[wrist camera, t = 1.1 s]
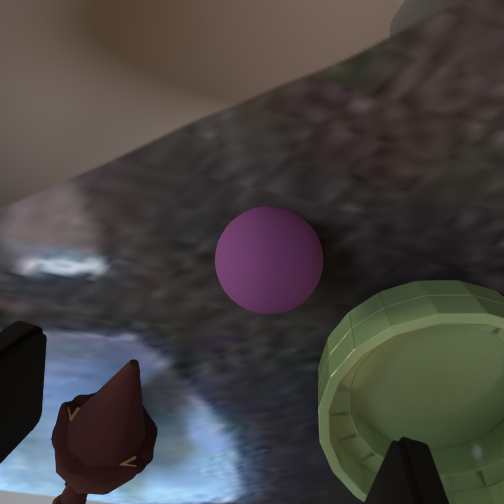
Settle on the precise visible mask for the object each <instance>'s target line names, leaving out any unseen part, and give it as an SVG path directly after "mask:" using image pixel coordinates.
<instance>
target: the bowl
mask: <svg viewBox="0 0 504 504" xmlns="http://www.w3.org/2000/svg"><path fill="white" fill-rule="evenodd" d="M318 417H319V441H320V444H321V446H322V448H323V451H324V453H325V455H326V458H327V460H328V462H329V465H330V467H331V469H332V471H333V472H334V474H335V475H336V476H337V477H338V478H339V479H340V480H341V481H342V482H343V483H344V485H345V486H346V487H347V488H348V489H349V490H350V491H351V492H352V493H353V494H354V496H356V497H357V498H358V499H360V500H361V501H363V502H365V500H366V497H367V495H368V493H369V491H370V488H371V486H372V484H373V482H374V480H375V477H376V475H377V473H378V471H379V468H380V466H381V464H382V462H383V460H384V457H385V455H386V453H387V451H388V448H389V446H390V444H391V442H392V441H393V440H396V441H399V439H400V438H401V437H407V438H410V439H413V440H417V441H420V442H423V443H426V444H427V445H428V446H429V448H430V451H431V454H432V457H433V459H434V462H435V465H436V468H437V470H438V473H439V476H440V479H441V482H442V484H443V487H444V490H445V493H446V495H447V498H448V501H449V504H504V295H503V294H501V293H500V292H498V291H495V290H492V289H489V288H485V287H481V286H478V285H474V284H470V283H466V282H463V281H457V280H429V281H414V282H410V283H407V284H404V285H400V286H397V287H394V288H390V289H387V290H384V291H380V293H377V294H375V295H374V296H372V297H371V298H369V299H368V300H366V301H365V302H363V303H362V304H360V305H358V306H357V307H355V308H354V309H352V310H351V311H350V312H348V313H347V315H346V316H345V317H344V318H343V319H342V321H341V322H340V323H339V324H338V326H337V327H336V328H335V329H334V331H333V332H332V333H331V334H330V335H329V338H328V339H327V342H326V345H325V348H324V351H323V353H322V356H321V359H320V362H319V366H318Z"/></svg>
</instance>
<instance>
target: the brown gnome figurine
mask: <svg viewBox="0 0 504 504" xmlns="http://www.w3.org/2000/svg"><path fill="white" fill-rule="evenodd" d="M156 437H157V427H156V425H155V423H154V422H153V420H152V419H151V417H150V416H149V415H148V413H147V412H146V410H145V408H144V406H143V404H142V394H141V383H140V370H139V363H138V361H137V360H134V359H133V360H131V361H129V362H128V363H127V364H126V365H125V366H124V367H123V368H122V369H121V370H120V371H119V372H118V373H117V374H116V375H115V376H113V377H112V378H111V379H110V380H109V381H108V382H107V383H106V384H105V385H104V386H103V387H102V388H101V389H100V390H99V391H98V392H97V393H93V394H89V395H78V396H76V397H75V398H74V399H73V400H72V401H69V402H64V403H63V404H62V405H61V407H60V410H59V413H58V417H57V421H56V425H55V427H54V429H53V433H52V438H51V440H52V444H53V447H54V449H55V461H56V472H57V473H58V475H59V476H60V477H61V478H62V479H64V480H65V481H66V482H65V486H66V487H65V489H64V491H63V493H62V494H61V495H59V496H58V497H57V498H55V499H54V500H53V502H52V503H53V504H85V503H86V500H87V499H86V498H87V495H88V494H101V495H104V494H108V493H109V492H111V491H113V490H115V489H116V488H118V487H120V486H121V485H123V484H125V483H126V482H128V481H130V480H131V479H133V478H134V477H135V475H136V474H138V473H140V472H142V471H143V470H144V468H145V467H146V465H147V464H149V463H150V462H151V461H152V459H153V450H154V446H155V442H156Z"/></svg>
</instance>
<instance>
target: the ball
mask: <svg viewBox="0 0 504 504" xmlns="http://www.w3.org/2000/svg"><path fill="white" fill-rule="evenodd" d="M215 265H216V271H217V275H218V279H219V281H220V284H221V285H222V287H223V289H224V290H225V292H226V293H227V294H228V296H229V297H230V298H231V299H232V300H233V301H235V302H236V303H237V304H238V305H240V306H242V307H243V308H245V309H247V310H250V311H252V312H256V313H260V314H278V313H283V312H287V311H289V310H292V309H294V308H295V307H297V306H299V305H300V304H301V303H303V302H304V301H305V300H306V299H307V298H308V297H309V296H310V295H311V294H312V293H313V291H314V290H315V288H316V286H317V285H318V283H319V280H320V278H321V274H322V269H323V251H322V247H321V243H320V240H319V238H318V236H317V234H316V232H315V231H314V229H313V228H312V227H311V225H310V224H309V223H308V222H307V221H306V220H305V219H303V218H302V217H301V216H299V215H298V214H296V213H294V212H292V211H290V210H287V209H285V208H280V207H273V206H265V207H258V208H254V209H251V210H248V211H246V212H244V213H242V214H241V215H239V216H238V217H236V218H235V219H234V220H233V221H232V222H231V223H230V224H229V225H228V226H227V227H226V229H225V230H224V232H223V233H222V235H221V237H220V239H219V242H218V245H217V249H216V255H215Z"/></svg>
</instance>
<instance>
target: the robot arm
mask: <svg viewBox="0 0 504 504" xmlns="http://www.w3.org/2000/svg"><path fill="white" fill-rule="evenodd" d="M46 342H47V338H46V335H45V334H43V331H42V328H41V327H39V326H36V325H32V324H29V323H26V322H22V321H17V322H15V323H13V324H11V325H10V326H8V327H7V328H5V329H4V330H2V331H0V463H1V462H2V461H3V460H4V459H5V458H6V457H7V456H8V455H9V454H10V453H11V452H12V451H13V450H14V449H15V448H16V447H17V445H18V444H19V443H20V442H21V441H22V440H23V439H24V438H25V437H26V436H27V435H28V434H29V433H30V432H31V431H32V430H33V429H34V427H35V426H36V425H37V423H38V422H39V420H40V417H41V414H42V402H43V387H44V372H45V357H46ZM364 504H449V501H448V498H447V495H446V493H445V490H444V487H443V484H442V482H441V479H440V476H439V473H438V470H437V468H436V465H435V462H434V459H433V457H432V454H431V451H430V448H429V446H428V445H427V444H426V443H423V442H420V441H417V440H413V439H410V438H407V437H401V438H400V439H399V441H396V440H393V441H392V442H391V444H390V446H389V448H388V451H387V453H386V455H385V457H384V460H383V462H382V464H381V466H380V468H379V471H378V473H377V475H376V477H375V480H374V482H373V484H372V486H371V488H370V491H369V493H368V495H367V497H366V500H365V502H364Z"/></svg>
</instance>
